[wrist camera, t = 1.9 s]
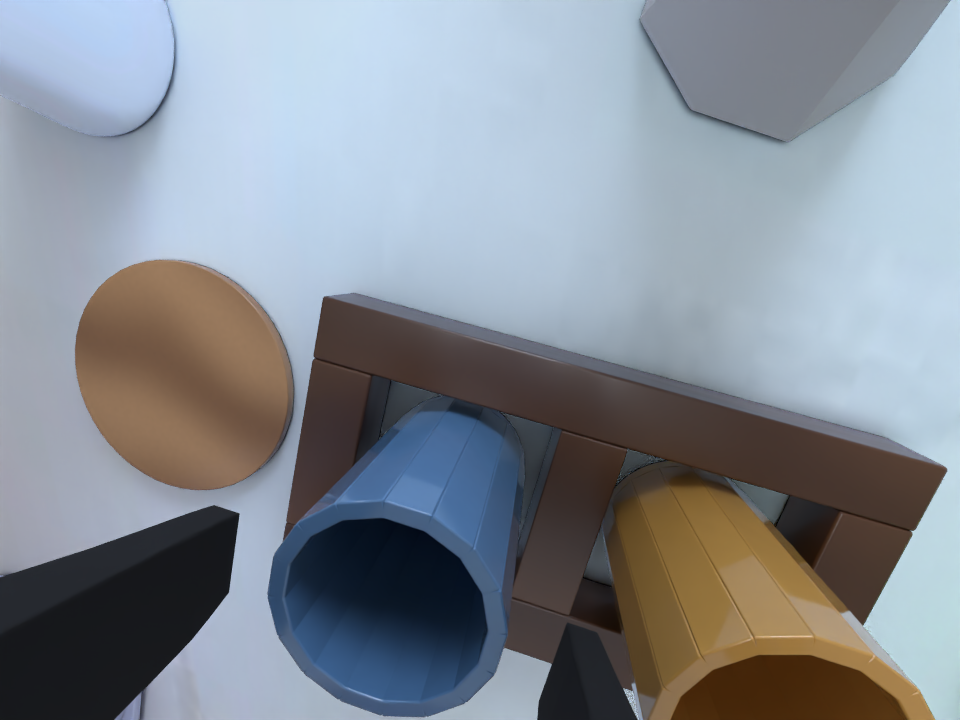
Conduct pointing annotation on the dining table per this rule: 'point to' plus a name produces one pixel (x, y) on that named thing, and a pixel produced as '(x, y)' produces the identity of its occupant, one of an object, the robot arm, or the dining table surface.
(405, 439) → the blue cup
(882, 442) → the cup holder
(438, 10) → the dining table surface
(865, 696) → the ochre cup
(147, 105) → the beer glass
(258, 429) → the coaster
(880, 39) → the flask
